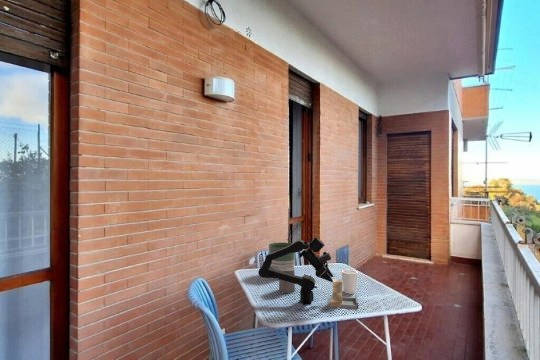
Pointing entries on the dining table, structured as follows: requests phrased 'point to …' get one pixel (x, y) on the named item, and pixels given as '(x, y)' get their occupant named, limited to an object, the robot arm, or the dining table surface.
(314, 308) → the dining table surface
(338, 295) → the beech block
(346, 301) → the tray
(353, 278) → the foam cup
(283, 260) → the planter
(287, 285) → the pillar candle
